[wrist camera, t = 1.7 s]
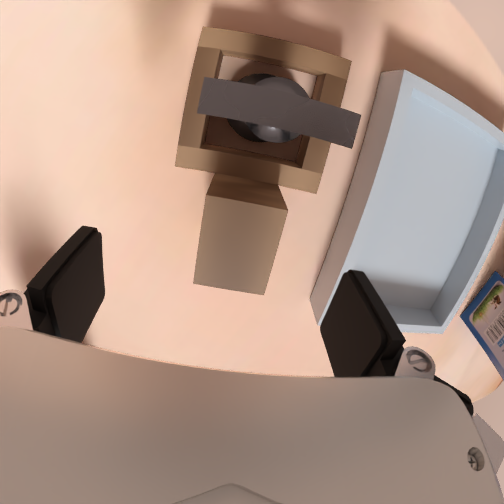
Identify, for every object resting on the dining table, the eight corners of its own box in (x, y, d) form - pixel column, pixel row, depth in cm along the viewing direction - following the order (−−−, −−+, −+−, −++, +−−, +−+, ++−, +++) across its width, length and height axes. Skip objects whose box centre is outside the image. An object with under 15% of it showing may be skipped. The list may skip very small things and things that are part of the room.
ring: (340, 64, 14) (383, 51, 9) (290, 246, 20) (306, 301, 15) (207, 34, 13) (189, 3, 8) (173, 225, 19) (148, 275, 14)
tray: (500, 142, 16) (525, 151, 13) (428, 312, 24) (442, 333, 21) (381, 72, 14) (404, 69, 12) (309, 299, 22) (317, 325, 20)
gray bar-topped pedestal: (303, 84, 15) (373, 66, 6) (287, 146, 17) (337, 198, 8) (232, 69, 14) (216, 25, 6) (218, 132, 16) (187, 168, 7)
